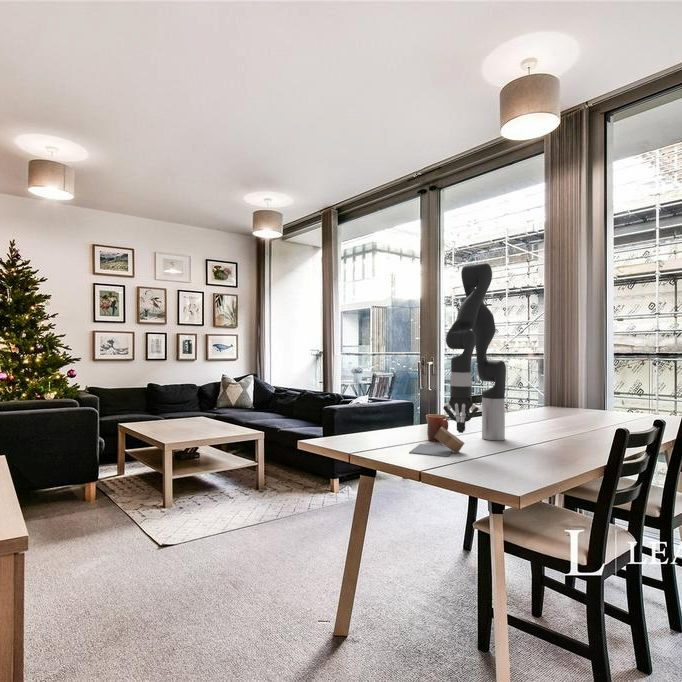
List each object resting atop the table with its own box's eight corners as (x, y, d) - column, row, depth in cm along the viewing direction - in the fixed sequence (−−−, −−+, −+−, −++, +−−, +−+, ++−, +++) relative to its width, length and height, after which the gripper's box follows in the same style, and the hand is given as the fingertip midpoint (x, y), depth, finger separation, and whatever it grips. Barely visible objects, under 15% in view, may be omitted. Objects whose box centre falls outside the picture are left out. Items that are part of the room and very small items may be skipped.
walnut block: (458, 451, 171) (436, 435, 175) (464, 443, 171) (441, 426, 174) (456, 454, 168) (433, 437, 171) (463, 445, 167) (439, 428, 170)
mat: (419, 444, 183) (419, 443, 183) (456, 448, 178) (456, 447, 178) (409, 453, 169) (409, 452, 169) (447, 456, 163) (447, 455, 163)
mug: (421, 439, 195) (421, 414, 195) (439, 437, 199) (439, 413, 199) (437, 444, 184) (437, 418, 184) (456, 443, 187) (456, 417, 188)
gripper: (481, 384, 170) (481, 432, 170) (444, 383, 176) (444, 429, 175) (478, 386, 163) (478, 435, 163) (440, 384, 169) (440, 432, 168)
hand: (460, 432), depth 169 cm, fingers closed
